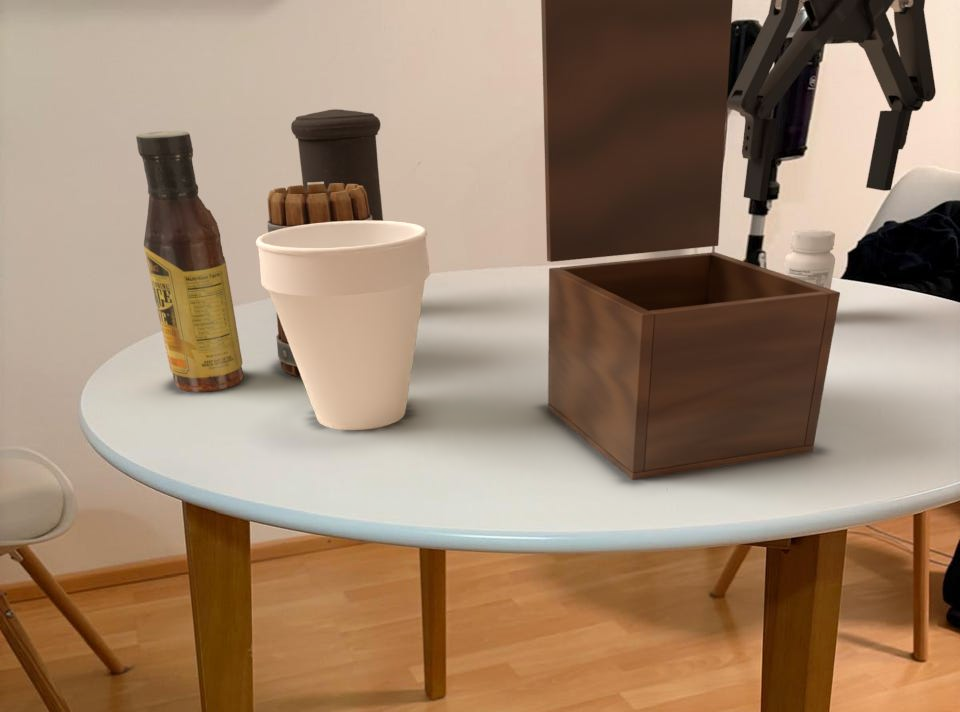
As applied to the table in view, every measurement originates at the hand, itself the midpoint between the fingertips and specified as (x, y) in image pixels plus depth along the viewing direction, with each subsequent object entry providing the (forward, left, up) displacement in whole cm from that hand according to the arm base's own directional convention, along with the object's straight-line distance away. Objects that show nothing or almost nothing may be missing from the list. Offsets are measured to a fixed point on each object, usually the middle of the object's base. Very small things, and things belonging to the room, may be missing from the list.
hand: (817, 194), depth 86 cm
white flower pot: (+47, +12, -12) cm, 50 cm away
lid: (+26, +16, +8) cm, 32 cm away
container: (+41, -23, -12) cm, 49 cm away
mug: (+46, -6, -12) cm, 48 cm away
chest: (+26, +24, -12) cm, 37 cm away
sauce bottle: (+58, -2, -12) cm, 60 cm away
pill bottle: (-1, 0, -12) cm, 12 cm away
